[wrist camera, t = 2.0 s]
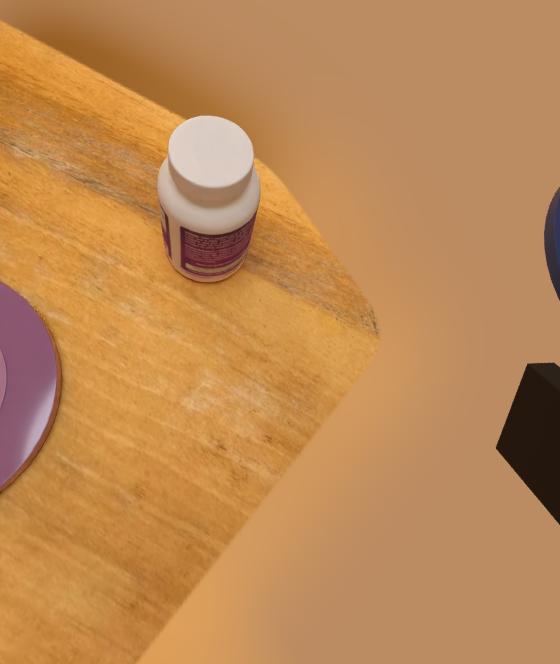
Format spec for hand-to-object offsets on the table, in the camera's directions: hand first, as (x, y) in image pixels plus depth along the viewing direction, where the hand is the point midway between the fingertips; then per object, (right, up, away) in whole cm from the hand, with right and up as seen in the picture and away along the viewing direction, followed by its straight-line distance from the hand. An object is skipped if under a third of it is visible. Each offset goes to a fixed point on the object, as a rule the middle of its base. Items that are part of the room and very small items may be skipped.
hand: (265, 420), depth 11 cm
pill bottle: (-5, +8, +20) cm, 22 cm away
